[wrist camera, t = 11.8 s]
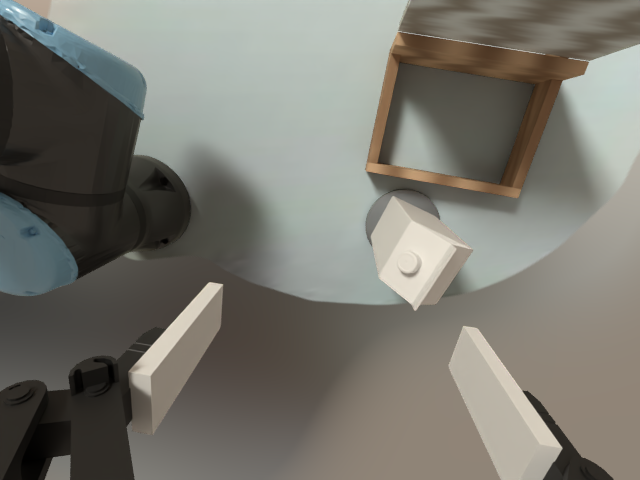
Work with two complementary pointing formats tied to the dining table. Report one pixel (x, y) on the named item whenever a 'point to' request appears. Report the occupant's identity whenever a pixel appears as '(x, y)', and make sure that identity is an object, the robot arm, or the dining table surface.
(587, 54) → the cold frame
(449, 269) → the milk carton
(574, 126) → the dining table surface
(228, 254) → the dining table surface
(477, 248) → the dining table surface
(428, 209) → the disc
